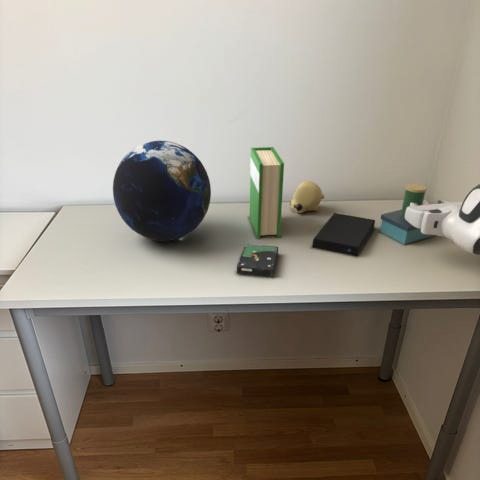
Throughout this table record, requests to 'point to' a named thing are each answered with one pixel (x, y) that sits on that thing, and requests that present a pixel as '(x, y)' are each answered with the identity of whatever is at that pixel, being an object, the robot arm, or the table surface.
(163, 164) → the globe
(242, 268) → the disk drive
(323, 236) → the external hard drive
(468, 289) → the table surface
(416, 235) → the storage box
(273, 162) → the hardback book
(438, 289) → the table surface
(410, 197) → the tea tin
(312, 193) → the toy pig
